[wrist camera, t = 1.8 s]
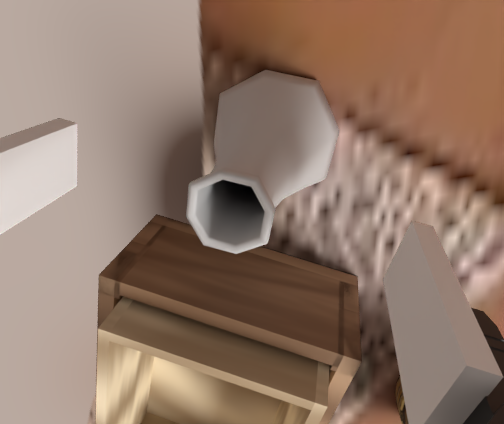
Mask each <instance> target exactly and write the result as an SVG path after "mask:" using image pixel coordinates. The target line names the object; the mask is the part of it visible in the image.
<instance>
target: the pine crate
mask: <svg viewBox="0 0 504 424" xmlns="http://www.w3.org/2000/svg"><path fill="white" fill-rule="evenodd" d="M328 386H329V364H326V363H323V362H320V361H317V360H314V359H311V358H308V357H305V356H302V355H299V354H296V353H292V352H289V351H286V350H283V349H280V348H277V347H274V346H271V345H268V344H265V343H262V342H259V341H256V340H253V339H250V338H247V337H244V336H241V335H238V334H235V333H232V332H229V331H226V330H223V329H220V328H217V327H214V326H211V325H208V324H205V323H202V322H199V321H196V320H193V319H190V318H187V317H184V316H181V315H178V314H175V313H172V312H169V311H166V310H163V309H160V308H157V307H154V306H151V305H148V304H145V303H142V302H139V301H136V300H133V299H130V298H127V297H124V296H123V297H122V299H121V300H120V301H119V303H118V304H117V305H116V306H115V308H114V309H113V310H112V311H111V313H110V314H109V315H108V316H107V318H106V319H105V320H104V322H103V323H102V324H101V325H100V327H99V328H98V347H97V386H96V424H319V423H320V421H321V419H322V417H323V415H324V413H325V411H326V409H327V407H328Z"/></svg>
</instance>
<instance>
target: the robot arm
mask: <svg viewBox="0 0 504 424" xmlns="http://www.w3.org/2000/svg"><path fill="white" fill-rule="evenodd" d="M75 187H77V123H74V122H71V121H68V120H64V119H61V118H58V119H55V120H52V121H49V122H46V123H43V124H40V125H37V126H35V127H31V128H29V129H26V130H23V131H20V132H17V133H14V134H11V135H8V136H5V137H2V138H0V234H2V233H4V232H5V231H7V230H8V229H10V228H12V227H13V226H15V225H17V224H18V223H20V222H21V221H23V220H24V219H26V218H28V217H29V216H31V215H32V214H34V213H36V212H37V211H39V210H40V209H42V208H43V207H45V206H47V205H48V204H50V203H52V202H53V201H55V200H56V199H58V198H60V197H61V196H63V195H64V194H66V193H67V192H69V191H71V190H72V189H74V188H75ZM383 282H384V288H385V294H386V299H387V305H388V311H389V316H390V322H391V328H392V333H393V339H394V344H395V350H396V356H397V361H398V367H399V373H400V378H401V384H402V390H403V395H404V401H405V406H406V412H407V418H408V423H409V424H504V339H503V337H502V335H501V333H500V331H499V329H498V327H497V326H496V325H495V324H494V322H493V321H492V320H491V319H490V318H489V317H488V316H487V315H486V314H485V313H484V312H483V311H480V310H477V309H474V308H471V307H470V305H469V302H468V300H467V298H466V296H465V294H464V292H463V290H462V288H461V285H460V283H459V281H458V279H457V277H456V275H455V273H454V270H453V268H452V266H451V264H450V262H449V260H448V258H447V255H446V253H445V251H444V249H443V247H442V245H441V243H440V241H439V238H438V236H437V234H436V232H435V230H434V228H433V226H430V225H426V224H423V223H419V222H416V221H411V223H410V225H409V227H408V229H407V231H406V233H405V235H404V237H403V239H402V241H401V243H400V245H399V247H398V249H397V252H396V254H395V256H394V258H393V260H392V262H391V264H390V266H389V268H388V270H387V272H386V274H385V276H384V278H383Z"/></svg>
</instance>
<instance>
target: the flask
mask: <svg viewBox="0 0 504 424" xmlns="http://www.w3.org/2000/svg"><path fill="white" fill-rule="evenodd" d="M338 135H339V128H338V126H337V123H336V121H335V119H334V116H333V114H332V111H331V109H330V106H329V104H328V102H327V99H326V97H325V94H324V92H323V90H322V87H321V85H320V82H319V81H317V80H312V79H308V78H303V77H298V76H293V75H289V74H284V73H279V72H274V71H270V70H264V71H262V72H260V73H258V74H256V75H254V76H252V77H250V78H248V79H247V80H245V81H243V82H241V83H239V84H237V85H235V86H233V87H231V88H229V89H227V90H226V91H224V92H222V93H220V96H219V104H218V112H217V121H216V129H215V137H214V150H215V156H216V163H215V166H214V169H213V170H212V172H211V173H210V174H208V175H206V176H203V177H201V178H199V179H197V180H194V181H192V182H190V184H189V188H188V199H187V210H186V218H187V219H188V221H189V222H190V224H191V226H192V227H193V229H194V231H195V232H196V234H197V236H198V237H199V239H200V241H201V242H202V244H203V245H204V246H208V247H212V248H216V249H219V250H223V251H227V252H231V253H234V254H238V253H241V252H244V251H247V250H250V249H253V248H256V247H259V246H262V245H265V244H267V243H268V241H269V236H270V232H271V228H272V223H273V219H274V214H275V207H276V206H277V205H278V204H279V203H280V202H281V201H282V200H283V199H284V198H286V197H288V196H290V195H292V194H294V193H296V192H298V191H299V190H301V189H303V188H305V187H308V186H310V185H313V184H315V183H318V182H320V181H322V180H324V179H326V177H327V173H328V170H329V166H330V163H331V159H332V156H333V152H334V149H335V145H336V142H337V138H338Z"/></svg>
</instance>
